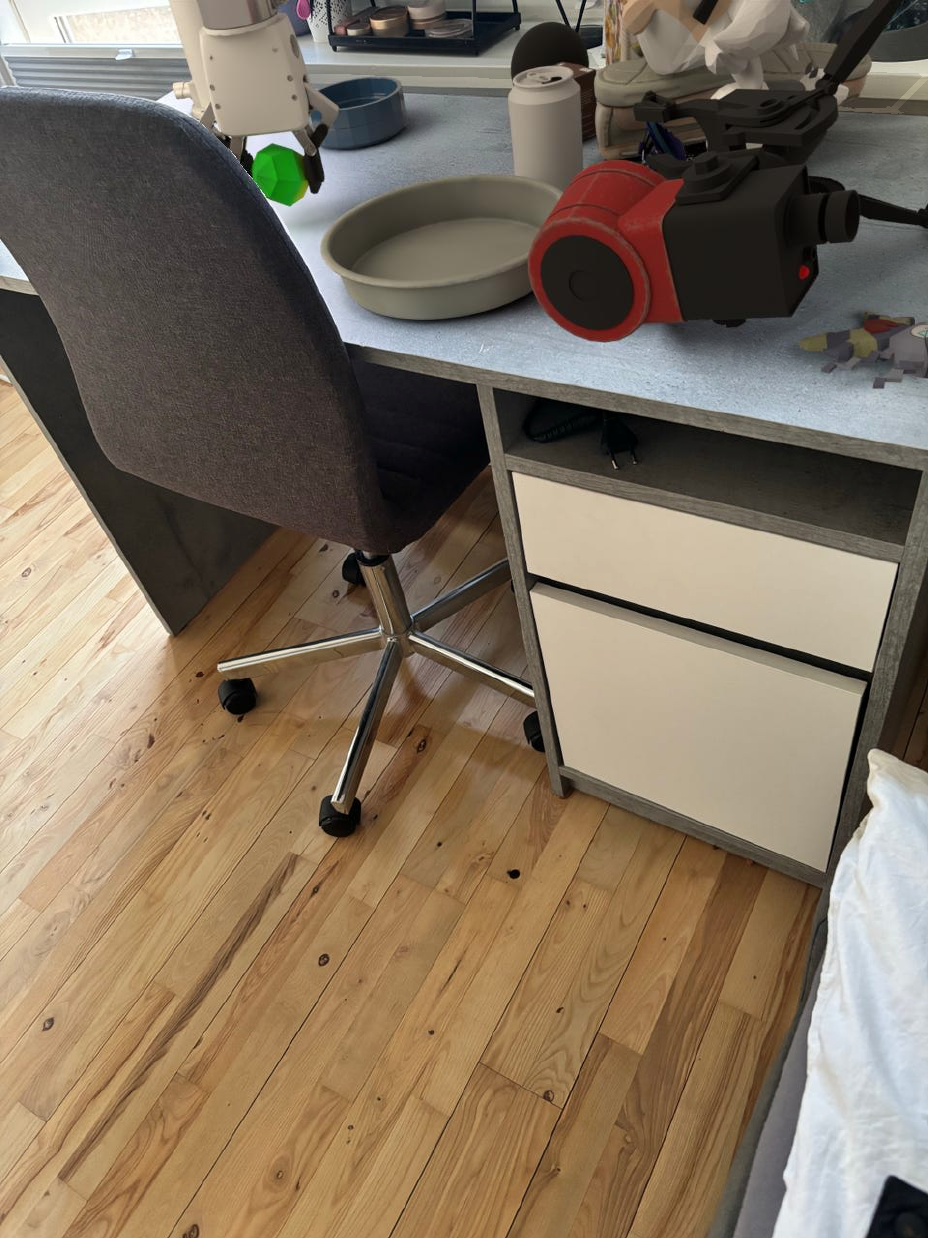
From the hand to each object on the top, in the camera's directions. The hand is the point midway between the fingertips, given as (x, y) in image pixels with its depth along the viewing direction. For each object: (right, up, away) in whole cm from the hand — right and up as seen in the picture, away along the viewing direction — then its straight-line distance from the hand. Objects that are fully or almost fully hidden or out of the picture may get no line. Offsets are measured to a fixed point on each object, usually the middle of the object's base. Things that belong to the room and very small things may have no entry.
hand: (285, 190), depth 103 cm
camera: (+50, -2, -20) cm, 53 cm away
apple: (-3, 0, -4) cm, 5 cm away
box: (+33, +11, +11) cm, 36 cm away
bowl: (+6, +18, +22) cm, 29 cm away
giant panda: (+52, 0, -4) cm, 53 cm away
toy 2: (+50, -25, -29) cm, 62 cm away
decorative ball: (+32, +19, +18) cm, 41 cm away
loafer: (+49, +13, -4) cm, 51 cm away
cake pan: (+19, -13, -12) cm, 26 cm away
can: (+30, -1, -1) cm, 30 cm away
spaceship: (+42, +3, -6) cm, 42 cm away
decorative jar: (+44, +14, +10) cm, 47 cm away
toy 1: (+36, +16, -19) cm, 44 cm away
